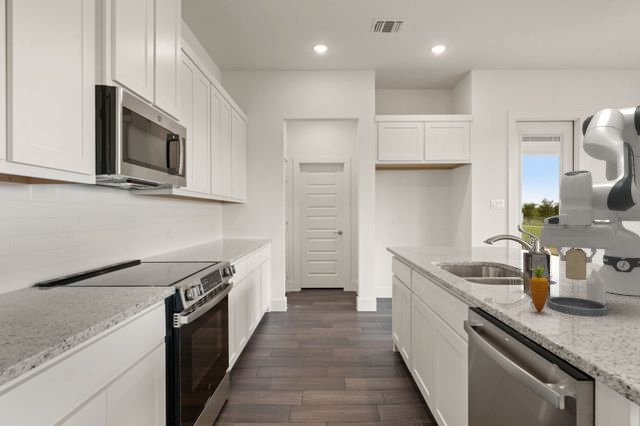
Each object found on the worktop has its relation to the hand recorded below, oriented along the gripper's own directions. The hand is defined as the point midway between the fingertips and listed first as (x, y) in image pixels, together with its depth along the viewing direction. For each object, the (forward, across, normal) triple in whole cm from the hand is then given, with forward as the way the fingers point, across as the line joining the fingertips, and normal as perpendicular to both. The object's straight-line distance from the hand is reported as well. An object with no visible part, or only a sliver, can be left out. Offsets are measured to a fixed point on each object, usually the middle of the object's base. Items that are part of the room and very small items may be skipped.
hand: (575, 261), depth 114 cm
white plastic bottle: (+16, -5, -14) cm, 22 cm away
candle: (+6, 0, 0) cm, 6 cm away
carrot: (+16, +9, +12) cm, 22 cm away
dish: (+16, 0, 0) cm, 16 cm away
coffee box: (+16, +13, -14) cm, 25 cm away
